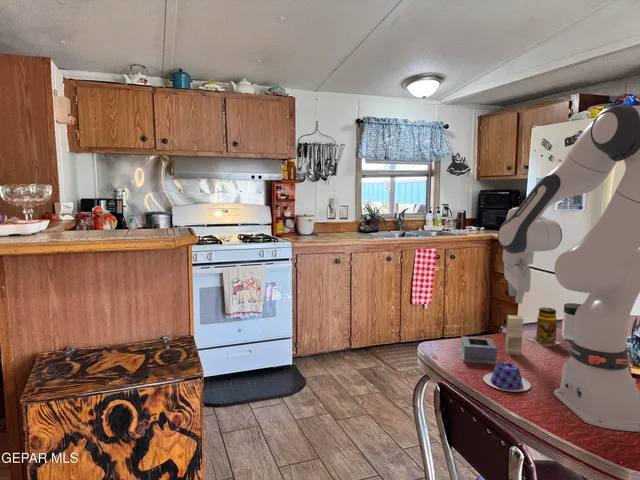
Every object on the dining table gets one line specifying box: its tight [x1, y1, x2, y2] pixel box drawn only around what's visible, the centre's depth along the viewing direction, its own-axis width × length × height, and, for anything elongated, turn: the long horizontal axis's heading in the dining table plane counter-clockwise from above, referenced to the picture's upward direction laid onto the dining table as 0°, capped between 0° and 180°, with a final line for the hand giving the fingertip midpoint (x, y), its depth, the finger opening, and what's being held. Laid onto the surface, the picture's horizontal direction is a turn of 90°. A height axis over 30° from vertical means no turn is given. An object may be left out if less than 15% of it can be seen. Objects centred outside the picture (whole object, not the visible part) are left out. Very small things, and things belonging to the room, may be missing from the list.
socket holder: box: [459, 336, 498, 366], centre depth 137 cm, size 10×10×5 cm
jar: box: [561, 302, 583, 342], centre depth 155 cm, size 9×8×12 cm
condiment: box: [526, 307, 561, 347], centre depth 151 cm, size 7×8×12 cm
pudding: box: [482, 362, 532, 393], centre depth 118 cm, size 12×12×5 cm
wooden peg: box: [505, 314, 524, 356], centre depth 141 cm, size 4×4×12 cm
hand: (515, 299), depth 140 cm, fingers open, 8 cm apart
